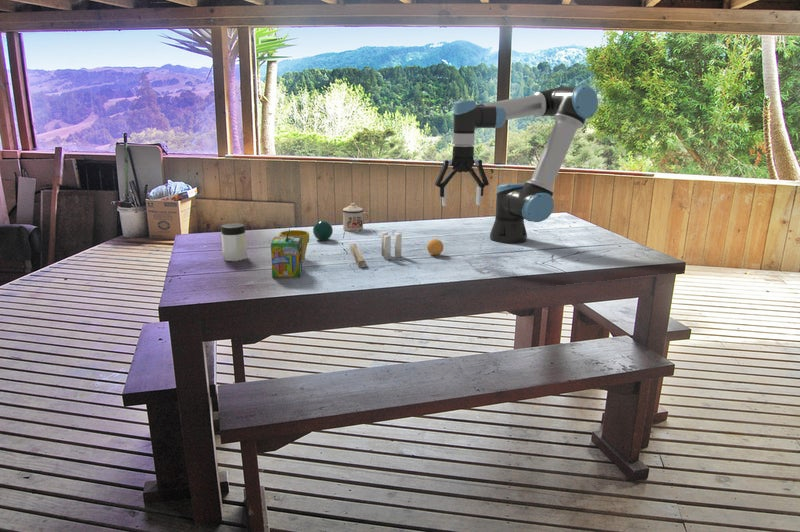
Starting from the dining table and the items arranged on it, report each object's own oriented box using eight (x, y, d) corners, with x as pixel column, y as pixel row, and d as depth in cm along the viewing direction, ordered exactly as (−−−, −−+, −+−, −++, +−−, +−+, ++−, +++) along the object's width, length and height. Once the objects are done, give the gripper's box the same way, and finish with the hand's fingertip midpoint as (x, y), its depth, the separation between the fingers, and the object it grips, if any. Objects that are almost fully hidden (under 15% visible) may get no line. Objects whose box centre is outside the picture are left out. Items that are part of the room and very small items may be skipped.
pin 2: (389, 257, 206) (390, 235, 204) (391, 259, 204) (391, 236, 202) (383, 258, 206) (383, 235, 203) (384, 259, 204) (384, 236, 201)
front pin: (400, 255, 209) (400, 233, 207) (401, 257, 207) (402, 234, 205) (394, 255, 209) (394, 233, 207) (395, 257, 207) (395, 234, 204)
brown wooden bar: (355, 249, 217) (355, 243, 216) (364, 267, 194) (364, 260, 193) (350, 250, 216) (350, 243, 215) (359, 267, 194) (359, 260, 193)
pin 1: (387, 254, 211) (387, 232, 209) (388, 256, 209) (388, 233, 206) (380, 254, 210) (381, 232, 208) (382, 256, 208) (382, 233, 206)
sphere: (331, 242, 227) (331, 222, 225) (311, 242, 228) (311, 222, 225) (334, 237, 235) (333, 218, 233) (314, 237, 235) (314, 218, 233)
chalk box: (275, 269, 190) (273, 226, 186) (303, 269, 191) (301, 226, 187) (271, 278, 181) (268, 232, 177) (300, 277, 182) (298, 232, 178)
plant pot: (306, 254, 209) (305, 228, 206) (312, 262, 200) (312, 234, 197) (278, 257, 205) (276, 230, 203) (283, 264, 196) (282, 237, 193)
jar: (249, 260, 201) (247, 226, 198) (225, 262, 198) (223, 228, 194) (244, 254, 209) (242, 222, 205) (221, 256, 205) (218, 223, 202)
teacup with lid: (346, 232, 245) (345, 205, 242) (340, 228, 253) (340, 202, 250) (372, 230, 249) (372, 204, 246) (366, 226, 258) (365, 200, 254)
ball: (440, 252, 214) (441, 237, 213) (445, 256, 209) (445, 240, 207) (425, 253, 213) (425, 237, 211) (429, 257, 208) (429, 241, 206)
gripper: (492, 144, 208) (489, 202, 214) (427, 144, 203) (426, 204, 209) (499, 146, 201) (496, 206, 207) (432, 146, 196) (431, 208, 202)
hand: (461, 205), depth 208 cm, fingers open, 12 cm apart
